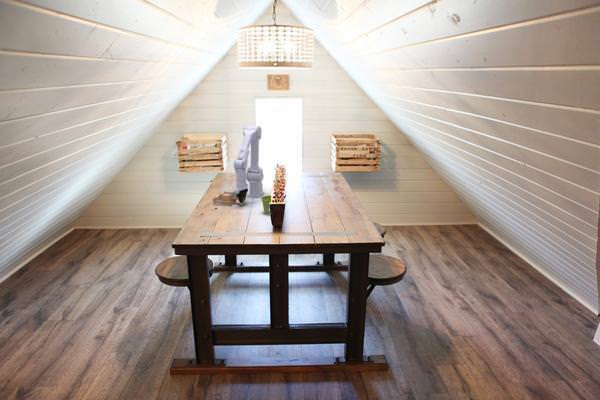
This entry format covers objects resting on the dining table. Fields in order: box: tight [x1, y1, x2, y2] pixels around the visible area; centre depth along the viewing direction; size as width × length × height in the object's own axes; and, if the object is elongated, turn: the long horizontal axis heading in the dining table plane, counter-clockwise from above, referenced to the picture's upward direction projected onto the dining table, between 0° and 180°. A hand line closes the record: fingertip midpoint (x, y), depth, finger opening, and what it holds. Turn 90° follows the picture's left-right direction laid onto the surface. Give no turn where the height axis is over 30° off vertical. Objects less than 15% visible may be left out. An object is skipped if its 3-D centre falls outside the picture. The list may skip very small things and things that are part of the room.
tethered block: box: [222, 193, 245, 206], centre depth 267 cm, size 4×13×6 cm, turn 74°
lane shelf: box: [212, 190, 239, 207], centre depth 272 cm, size 16×11×4 cm
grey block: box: [226, 189, 236, 198], centre depth 276 cm, size 4×4×6 cm
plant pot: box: [260, 194, 271, 215], centre depth 251 cm, size 9×9×9 cm
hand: (242, 201), depth 266 cm, fingers closed on tethered block, 2 cm apart
